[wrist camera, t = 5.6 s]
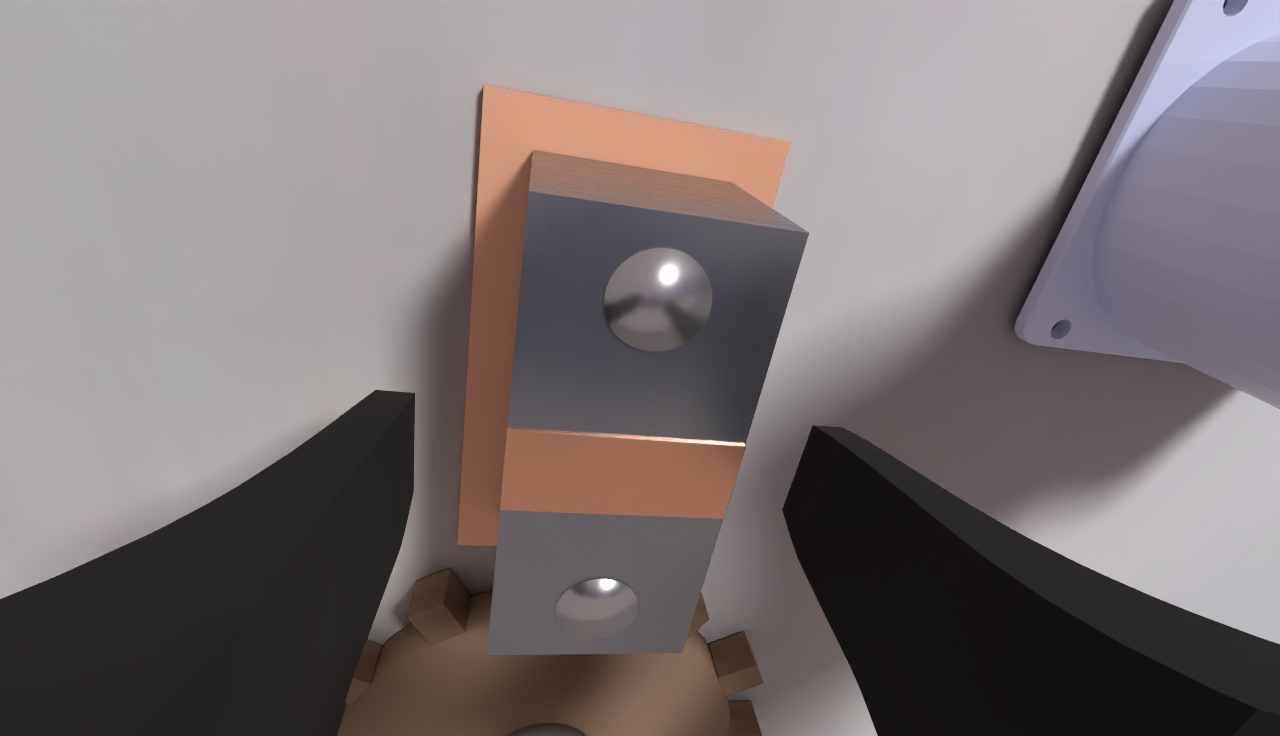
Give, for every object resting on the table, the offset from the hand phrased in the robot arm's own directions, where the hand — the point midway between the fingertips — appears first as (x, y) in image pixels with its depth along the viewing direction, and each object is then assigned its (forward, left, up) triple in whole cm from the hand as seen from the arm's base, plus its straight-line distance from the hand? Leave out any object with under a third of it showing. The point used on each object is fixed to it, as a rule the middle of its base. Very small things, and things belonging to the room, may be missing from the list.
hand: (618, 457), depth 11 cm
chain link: (0, 0, -3) cm, 3 cm away
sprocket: (0, +13, -4) cm, 13 cm away
